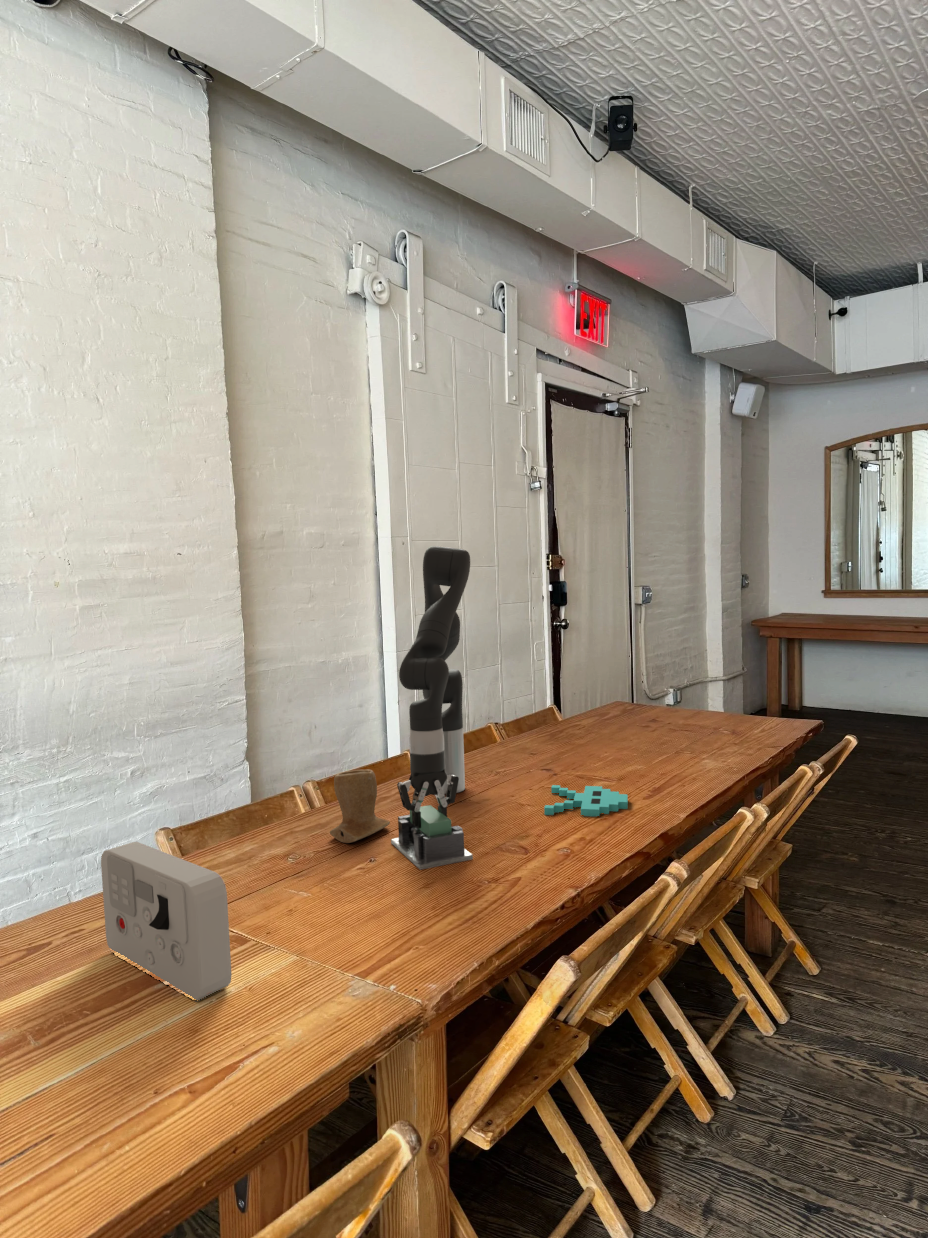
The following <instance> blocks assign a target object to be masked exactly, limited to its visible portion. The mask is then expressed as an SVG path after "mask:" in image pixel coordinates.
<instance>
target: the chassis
mask: <svg viewBox="0 0 928 1238" xmlns="http://www.w3.org/2000/svg"><path fill="white" fill-rule="evenodd" d="M397 825H398V826H397V827H398V837H393V838H391V839H390V841H391V842H390V843H391V845H392V846H394V847H395V849H397V850H398V851H399V852H400V853H401V854H402V855H404V857H405V858H407V859H408V860H409V861H410V862H411V863H412V864H413V865H414V866H416V868H417V869H419V870H426V869H431V868H435V867H443V866H445V865H446V866H447V865H451V864H457V863H461V862H467V861H472V860H473V858H474V857H473V856H474V855H473V853H471V852H469V851H468V850H467V849H466V848H465V833H464V831H463V828H462V827H461V826H459V825H453V826H452V825H451V828H452V832H449V833H443V834H438V835H432V836H427V835H426V834H425V833H423V832H422V831H421V830H420V829H418V828H416V827H415V825H413V824H412V823H411V822H410V814H406V815H399V816H397Z"/></svg>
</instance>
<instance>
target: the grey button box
mask: <svg viewBox="0 0 928 1238" xmlns="http://www.w3.org/2000/svg"><path fill="white" fill-rule="evenodd" d="M100 870H101V883H102V884H101V886H102V897H103V912H104V924H105V925H104V928H105V939H106V943H107V947H108V949H109V948H111V949H112V950H114V951H116V952H118V953H120V954H121V955H124V956H125V957H127V958H128V959H130V960H131V961H133V962H135V963H137V964H138V965H140V966H142V967H143V968H145V969H147V970H148V971H150V972H152V973H153V974H155V975H156V976H158V977H160V978H161V979H163V980H165V981H167V982H169V983H170V984H172V985H173V986H175V987H176V988H178V989H180V990H182V991H183V992H185V993H186V994H188V995H190V996H192V997H193V998H194V999H196V1000H199V1001H201V1000H203V999H205V998H207V997H206V996H208V995H210V994H212V993H214V992H216V991H218V990H220V989H222V988H224V987H226V986H227V987H229V985H230V984H231V983H232V975H233V974H232V962H231V961H232V958H231V943H230V942H231V941H230V925H229V907H228V892H227V887H226V883H225V881H224V879H223V877H222V876H221V875H220V874H219V873H218V872H216V871H215V870H212V869H208V868H205V867H204V866H201V865H199V864H196V863H194V862H193V863H192V862H190V861H188V860H186V859H183V858H181V857H178V856H174V855H172V854H170V853H167V852H164V851H162V850H159V849H156V848H154V847H152V846H149V845H146V844H143V843H141V842H138V841H133V842H129V843H126V844H122V845H119V846H115V847H112V848H110V849H106V850H104V851H103V853H102V854H101V859H100ZM227 987H226V988H227ZM224 989H225V988H224ZM222 990H223V989H222ZM220 991H221V990H220ZM218 992H219V991H218ZM216 993H217V992H216ZM214 994H215V993H214ZM212 995H213V994H212ZM210 996H211V995H210ZM204 997H205V998H204ZM208 997H209V996H208ZM202 998H203V999H202ZM200 999H201V1000H200Z"/></svg>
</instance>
